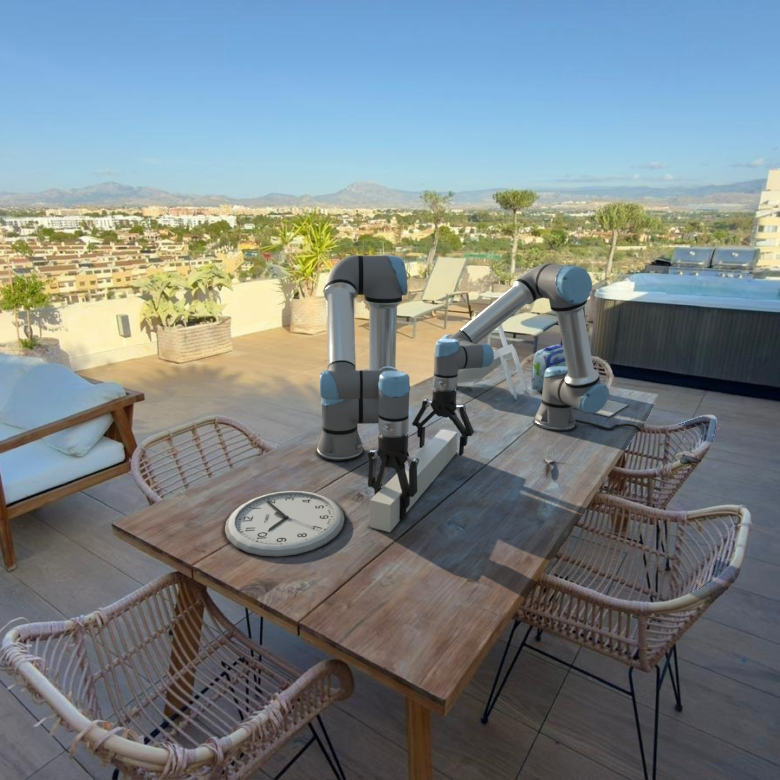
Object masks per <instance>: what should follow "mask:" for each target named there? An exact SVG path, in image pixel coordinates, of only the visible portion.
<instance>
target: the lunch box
mask: <svg viewBox="0 0 780 780" xmlns="http://www.w3.org/2000/svg"><path fill="white" fill-rule="evenodd" d="M556 366H566V367H567V365H566V360H565V355H564V350H563V344H554V345H550V346H547V347H544V348H542V349H541V348H540V349H539V350H537V351H536V352H535V353H534V356H533V360H532V367H531V368H532V369H531V382H530V383H531V386H530V387H531V389H532V390H533V391H537V392H542V391H543V380H544V374H545V370H546V369H547V368H549V367H556Z"/></svg>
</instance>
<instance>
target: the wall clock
mask: <svg viewBox="0 0 780 780" xmlns="http://www.w3.org/2000/svg"><path fill="white" fill-rule="evenodd" d="M344 515H345V514H344V511H343V509H342V508H341V507H340V505H338V503H336V502H335V501H334V500H333V499H332V500H331V499H330V498H329V497H327V496H324V495H322V494H318V493H316V492H311V491H310V492H309V491H305V490H304V491H303V490H284V491H276V492H272V493H267V494H264V495H260V496H257V497H255V498H252V499H250V500H248V501H246V502H245V503H243V504H241V505H240V506H238V508H236V509H235V510H233V511H232V512H231V513H230V515H229V517H228V518H227V520H226V521H225V527H224V532H225V536H226V538H227V540H228V541H229V542H230V544H231V545H233V546H234V547H235V548H237V549H240V550H241V551H244V552H245V553H248V554H252V555H256V556H262V557H287V556H294V555H296V556H297V555H299V554H304V553H307V552H311V551H313V550H316V549H318V548H320V547H322V546H324V545H327V544H328V543H329V542H331V541H332V540H333V539H335V538H336V537H337V536H338V534H339V533H340V532H341V530H342V529H343V527H344V522H345V516H344Z"/></svg>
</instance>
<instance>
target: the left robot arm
mask: <svg viewBox="0 0 780 780" xmlns="http://www.w3.org/2000/svg"><path fill="white" fill-rule="evenodd" d="M406 269H407V268H406V263H405V261H404V259H403V258H402V257H401V256H398V255H389V254H385V255H383V254H381V255H378V254H377V255H375V254H373V255H371V254H370V255H359V254H354V255H353V254H351V255H348V256H346V257H344V258H342V259H340V260H339V261H338V262H336V263H335V264H334V266H332V268H331V269H330V270H329V272H328V273H327V276H326V278H325V281H324V286H323V297H324V299H325V300H326V302H327V345H326V346H327V351H326V352H327V353H326V354H327V357H326V359H327V362H326V364H327V369H326V370H321V371H320V373H319V395H320V398H321V402H320V405H321V422H322V423H321V425H322V430H321V434H320V437H319V440H318V444H317V449H316V451H317V456H318V457H320V458H322V459H324V460H326V461H330V462H348V461H353V460H356V459H358V458H359V457H361V456H362V455H363V453H364V447H363V442H362V440H361V436H360V434H359V431H358V425H361V424H363V425H365V424H366V425H367V424H368V425H369V424H378V428H377V429H378V436H377V446H378V448H377V449H374V448H372V449H371V450H369V451H368V452H367V454H366V455H367V458H368V471H367V472H368V473H367V486H368V487H369V488H372V489H373V491H374V496H375V495H376V494H377V493H378V492H379V491H380V490H381V489H382V488H383V487H384V486H383V485H384V482H385V478H386V476H387V475H386V474H387V472H388V469H389V468H392V469H394V471H395V474H397V475H398V479H399V483H400V487H401V491H402V496H401V497H400V516H399V520H400V521H403V520H404V519H405V517H406V516H407V513H406V508H408V506H409V505H410V497H413V496H414V495H415V494H416V493H417V465H418V462H419V459H418V458H415V459H414V458H413V457H411V456H410V453H409V452H408V450H409V449H408V448H409V434H408V433H409V421H410V418H409V409H410V390H411V384H410V382H411V381H410V376H409V373H407V372H405V371H401V370H398V369H397V368H396V366H397V365H396V363H397V362H396V361H397V360H396V359H397V327H398V325H397V324H398V323H397V322H398V321H397V320H398V306H399V305H400V304H401V303H402V302H403V296H404V297H405V296H407V295H408V287H409V286H408V285H409V284H408V274H407V270H406ZM358 296H364V302H365V303H366V304H367V305H368V307H369V311H368V313H369V317H368V369H367V370H362V369H357V367H356V365H357V363H356V337H355V334H356V333H355V303H354V302H355V300H356V299H357V297H358ZM378 458H379V460H380V461H381V463H380V466H379V471H378V473H377V470H378V469H377V467H378ZM406 462H407V463H408V466H409V483H408V479H407V475H406V471H405V465H406Z"/></svg>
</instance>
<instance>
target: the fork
mask: <svg viewBox="0 0 780 780" xmlns="http://www.w3.org/2000/svg"><path fill="white" fill-rule="evenodd" d="M552 452H553V453H552ZM554 455H555V452H554V451H551V452H550V453H548V452H546V453H545V459H544V461H545V462H547V464H546V466H545V475H546V476H548V473H549V471H550V468H551V467H550V464H551V463H553V462H554V458H555V456H554Z"/></svg>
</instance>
